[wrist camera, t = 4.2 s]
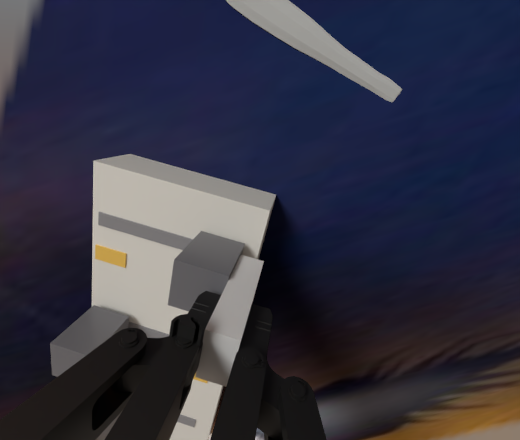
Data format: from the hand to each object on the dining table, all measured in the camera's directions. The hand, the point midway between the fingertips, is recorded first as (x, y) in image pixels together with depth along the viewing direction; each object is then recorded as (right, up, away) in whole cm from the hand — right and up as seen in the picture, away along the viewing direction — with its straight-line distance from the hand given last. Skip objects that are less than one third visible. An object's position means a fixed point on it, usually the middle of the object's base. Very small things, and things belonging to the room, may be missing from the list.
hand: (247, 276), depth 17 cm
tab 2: (-2, +1, +1) cm, 3 cm away
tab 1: (-11, -5, +5) cm, 13 cm away
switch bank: (-7, -5, +9) cm, 12 cm away
